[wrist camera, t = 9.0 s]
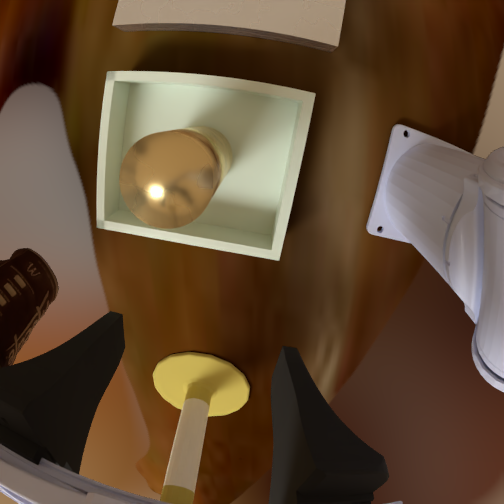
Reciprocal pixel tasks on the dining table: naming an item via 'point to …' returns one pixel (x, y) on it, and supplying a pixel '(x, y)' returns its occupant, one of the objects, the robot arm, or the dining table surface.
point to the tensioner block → (240, 18)
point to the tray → (241, 141)
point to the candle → (195, 411)
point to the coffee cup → (22, 299)
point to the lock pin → (174, 174)
